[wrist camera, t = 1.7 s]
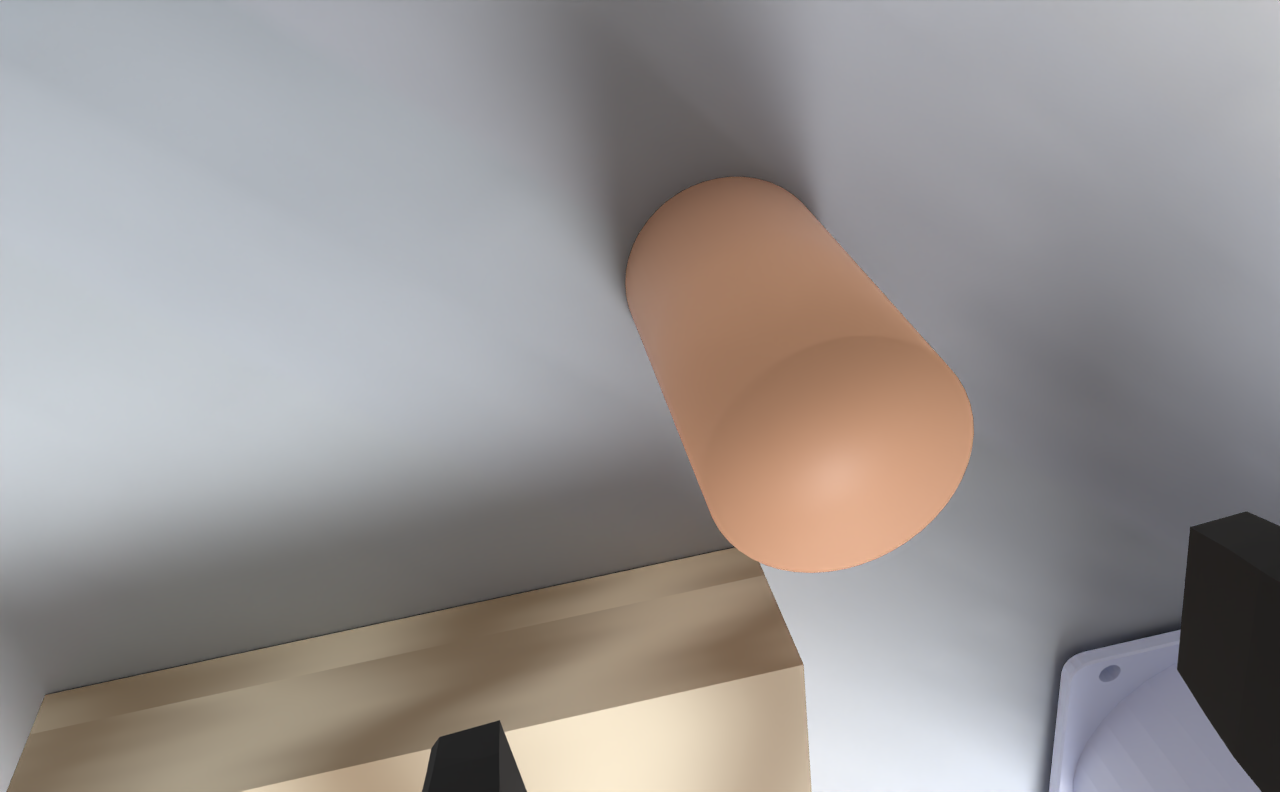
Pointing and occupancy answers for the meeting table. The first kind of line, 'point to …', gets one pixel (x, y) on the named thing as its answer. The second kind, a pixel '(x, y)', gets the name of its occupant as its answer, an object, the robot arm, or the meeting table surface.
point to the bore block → (468, 698)
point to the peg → (793, 380)
